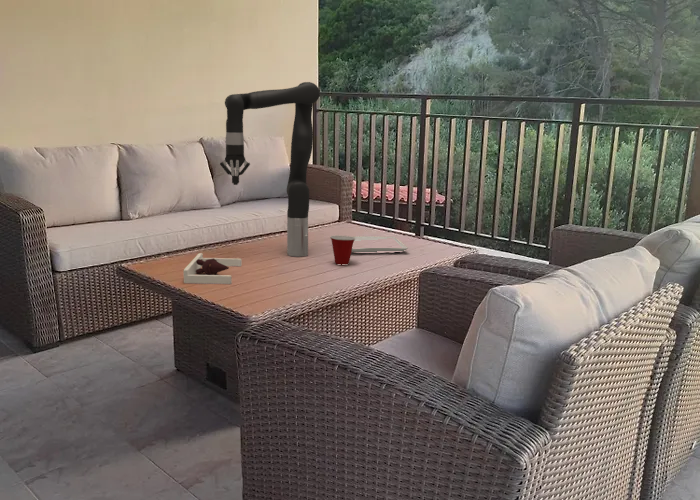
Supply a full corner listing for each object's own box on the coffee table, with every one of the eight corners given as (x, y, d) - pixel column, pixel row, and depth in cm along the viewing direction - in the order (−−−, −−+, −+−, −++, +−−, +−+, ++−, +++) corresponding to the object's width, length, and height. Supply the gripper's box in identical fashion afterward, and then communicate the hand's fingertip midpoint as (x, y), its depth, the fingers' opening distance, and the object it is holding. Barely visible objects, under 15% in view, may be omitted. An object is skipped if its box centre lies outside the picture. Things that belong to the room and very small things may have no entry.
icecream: (234, 259, 248) (202, 258, 254) (223, 258, 241) (191, 257, 247) (233, 276, 248) (201, 275, 253) (222, 276, 241) (190, 275, 246)
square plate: (408, 255, 290) (408, 247, 289) (349, 256, 285) (349, 248, 284) (394, 242, 316) (394, 235, 315) (340, 243, 311) (340, 235, 310)
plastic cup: (359, 262, 273) (359, 235, 270) (348, 268, 264) (349, 240, 261) (336, 259, 278) (337, 232, 275) (325, 264, 268) (325, 237, 265)
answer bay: (241, 265, 263) (241, 253, 262) (231, 284, 237) (230, 271, 235) (199, 264, 263) (198, 253, 262) (183, 283, 236) (183, 270, 235)
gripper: (251, 143, 269) (252, 183, 273) (220, 142, 268) (221, 183, 272) (249, 144, 261) (250, 186, 265) (217, 143, 261) (218, 185, 265)
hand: (235, 184), depth 269 cm, fingers closed
